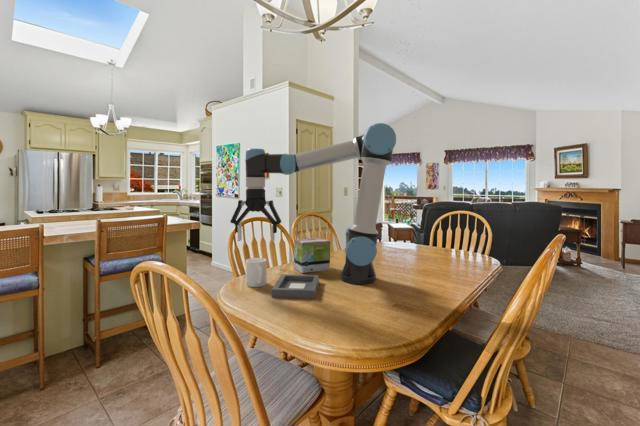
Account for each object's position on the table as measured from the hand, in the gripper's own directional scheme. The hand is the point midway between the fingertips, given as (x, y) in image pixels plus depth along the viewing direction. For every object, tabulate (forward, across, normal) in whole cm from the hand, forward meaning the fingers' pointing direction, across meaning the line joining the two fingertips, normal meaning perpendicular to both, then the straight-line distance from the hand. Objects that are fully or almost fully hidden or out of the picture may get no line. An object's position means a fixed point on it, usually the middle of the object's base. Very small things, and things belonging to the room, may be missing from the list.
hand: (256, 240), depth 132 cm
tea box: (+19, -20, -27) cm, 39 cm away
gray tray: (+18, -17, +3) cm, 25 cm away
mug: (+19, 0, 0) cm, 19 cm away
